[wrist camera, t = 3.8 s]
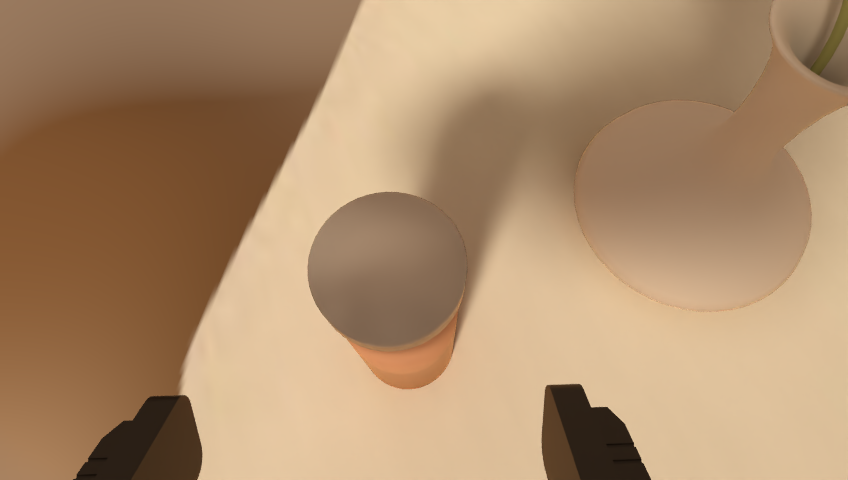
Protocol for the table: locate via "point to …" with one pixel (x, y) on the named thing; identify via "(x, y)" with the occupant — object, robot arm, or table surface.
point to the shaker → (391, 284)
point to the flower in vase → (716, 175)
